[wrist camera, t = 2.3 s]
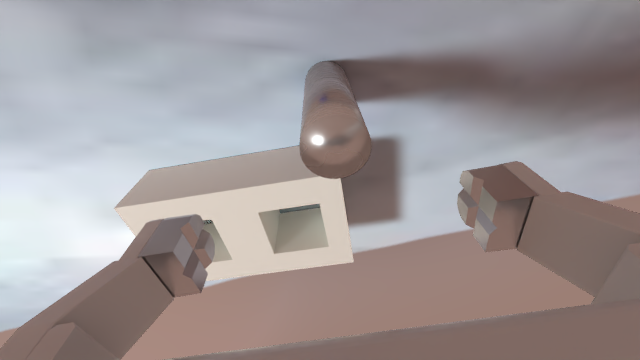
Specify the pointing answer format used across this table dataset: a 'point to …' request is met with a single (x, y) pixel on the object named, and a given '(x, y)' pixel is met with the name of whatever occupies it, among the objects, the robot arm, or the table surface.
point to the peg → (332, 124)
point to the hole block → (250, 211)
